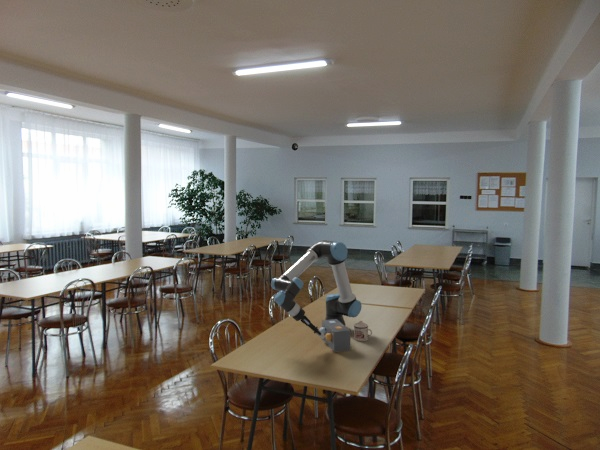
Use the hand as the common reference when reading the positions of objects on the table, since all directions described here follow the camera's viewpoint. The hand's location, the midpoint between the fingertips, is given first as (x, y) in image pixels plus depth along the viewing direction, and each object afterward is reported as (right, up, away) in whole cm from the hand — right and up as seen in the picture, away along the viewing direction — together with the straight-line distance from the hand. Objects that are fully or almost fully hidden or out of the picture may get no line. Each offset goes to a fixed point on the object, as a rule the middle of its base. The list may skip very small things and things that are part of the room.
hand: (323, 337), depth 248 cm
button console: (+8, -7, +9) cm, 13 cm away
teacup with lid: (+26, -6, +17) cm, 32 cm away
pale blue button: (0, -2, +13) cm, 13 cm away
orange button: (+3, -2, +1) cm, 4 cm away
